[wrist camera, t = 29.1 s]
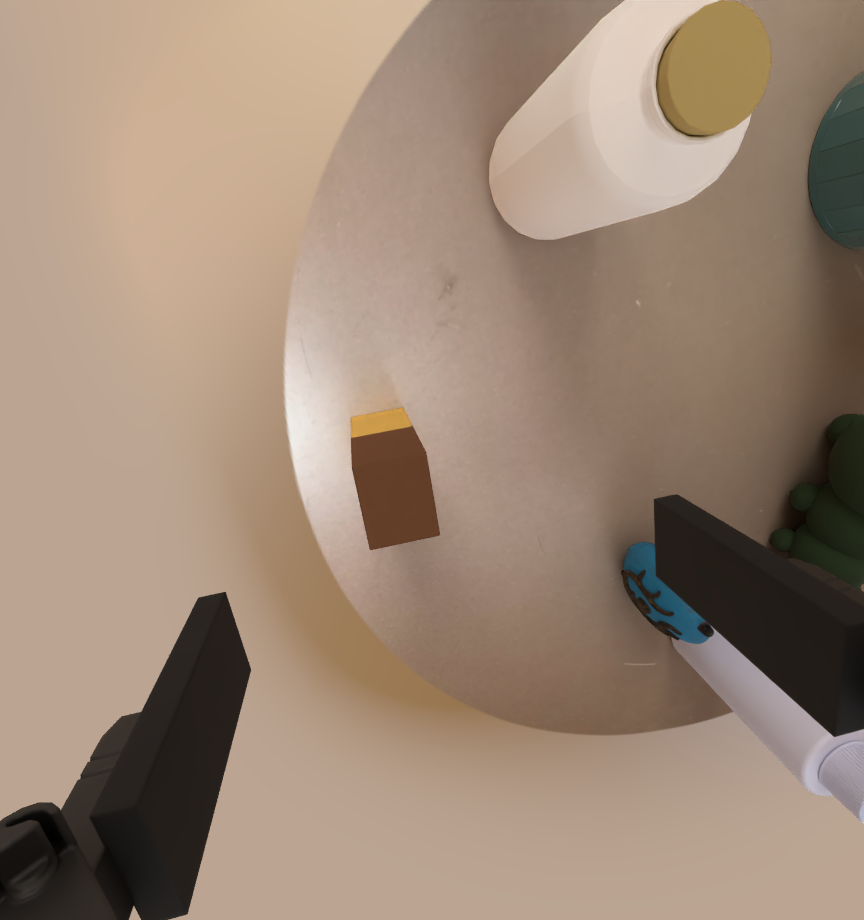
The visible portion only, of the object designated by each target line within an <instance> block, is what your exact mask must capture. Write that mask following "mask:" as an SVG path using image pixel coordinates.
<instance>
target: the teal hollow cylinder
mask: <svg viewBox="0 0 864 920" xmlns="http://www.w3.org/2000/svg"><path fill="white" fill-rule="evenodd" d="M808 184H809V194H810V199H811V204H812V207H813V210H814V213H815V216H816V218H817V220H818V222H819V223H820V225H821V227H822V228H823V229H824V231H825V232H826V233H827V234H828V235H829V236H830V237H831V238H832V239H833V240H834V241H836V242H837V243H839V244H840V245H842V246H844V247H847V248H849V249H852V250H856V251H864V71H862V72H861V73H860V74H858V75H857V76H856V77H855V78H854V79H853V80H852V81H850V82H849V83H848V84H847V85H846V86H845V88H844V89H843V90H842V91H841V92H840V93H839V95H838V96H837V97H836V99H835V100H834V101H833V103H832V104H831V106H830V107H829V109H828V111H827V113H826V114H825V116H824V118H823V120H822V122H821V125H820V127H819V129H818V131H817V134H816V137H815V140H814V144H813V147H812V152H811V156H810V163H809V181H808Z"/></svg>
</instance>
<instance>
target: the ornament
mask: <svg viewBox="0 0 864 920" xmlns="http://www.w3.org/2000/svg"><path fill="white" fill-rule="evenodd" d="M621 574H622V576H623V582H624V587H625V589H626V591H627V593H628V595H629V597H630V598H631V600H632V601H633V603H634V604H635V606H636V607H637V608H638V609H639V611H640V612H641V613H642V614H643V616H644V617H645V618H646V619H647V620H648V621H649V622H650V623H651V624H652V625H653V626H654V627H655V628H656V629H658V630H659V631H661V632H662V633H664V634H665V635H667V636H671V637H672V638H674V639H675V640H679V639H681V640H683V641H685V642H688V643H692V644H701V643H704V642H706V641H707V640H708V639H709V637H712V636H713V635H714V630H713V628H712V627H711V626H710V625H709V624H708V623H707V622H706V621H705V620H704V619H703V618H702V617H701V616H699V615H698V614H697V613H696V612H695V611H694V610H693V609H692V608H691V607H689V606H688V605H687V604H686V603H685V602H684V601H683V600H682V599H681V598H680V597H678V596H677V595H676V594H675V593H674V592H673V591H672V590H671V589H670V588H668V587H667V586H666V585H665V584H664V583H663V582H662V581H661V580H660V579H659V578H657V577H656V568H655V544H653V543H648V542H641V543H637V544H633V545H632V546H631V547H630V548H629V549H628V551H627V553H626V556H625V560H624V570H622V571H621Z"/></svg>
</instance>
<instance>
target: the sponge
mask: <svg viewBox="0 0 864 920" xmlns="http://www.w3.org/2000/svg"><path fill="white" fill-rule="evenodd" d="M351 453H352V470H353V475H354V479H355V484H356V489H357V493H358V498H359V502H360V507H361V511H362V516H363V521H364V525H365V530H366V534H367V539H368V543H369V548H370V550H374V549H378V548H383V547H388V546H392V545H397V544H402V543H406V542H411V541H416V540H420V539H425V538H430V537H434V536H439V535H440V532H439V526H438V520H437V514H436V508H435V502H434V496H433V490H432V484H431V478H430V472H429V467H428V461H427V455H426V451H425V449H424V448H423V446H422V444H421V442H420V440H419V438H418V436H417V434H416V432H415V430H414V428H413V426H412V424H411V422H410V420H409V418H408V416H407V414H406V412H405V410H404V408H398V409H393V410H388V411H382V412H377V413H372V414H366V415H361V416H356V417H351Z"/></svg>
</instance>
